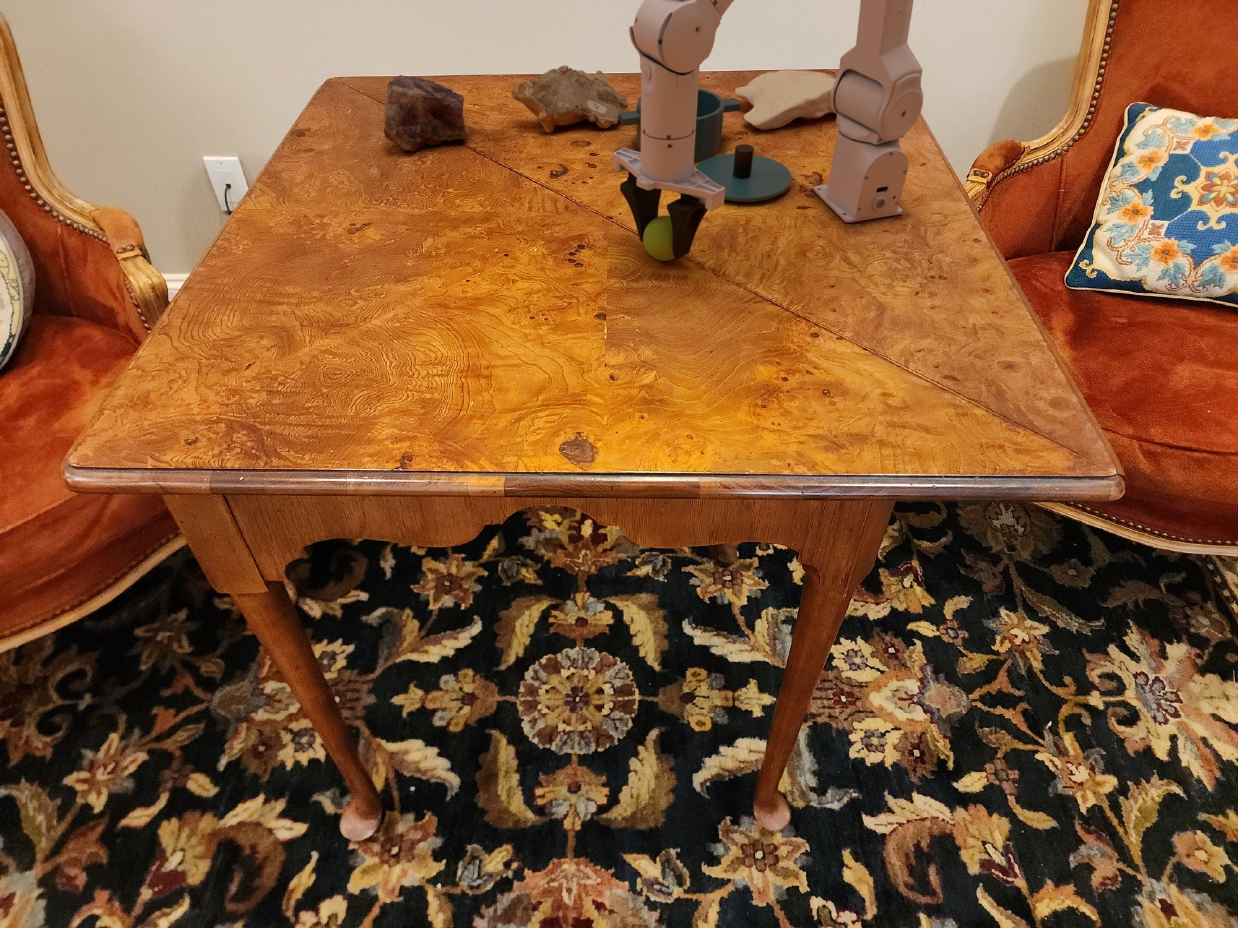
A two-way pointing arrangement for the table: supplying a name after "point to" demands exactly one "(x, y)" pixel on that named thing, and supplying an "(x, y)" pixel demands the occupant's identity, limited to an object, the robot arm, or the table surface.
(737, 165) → the lid
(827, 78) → the decorative stone
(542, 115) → the mineral specimen
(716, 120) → the pot
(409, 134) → the rock
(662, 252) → the ball
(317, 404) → the table surface
